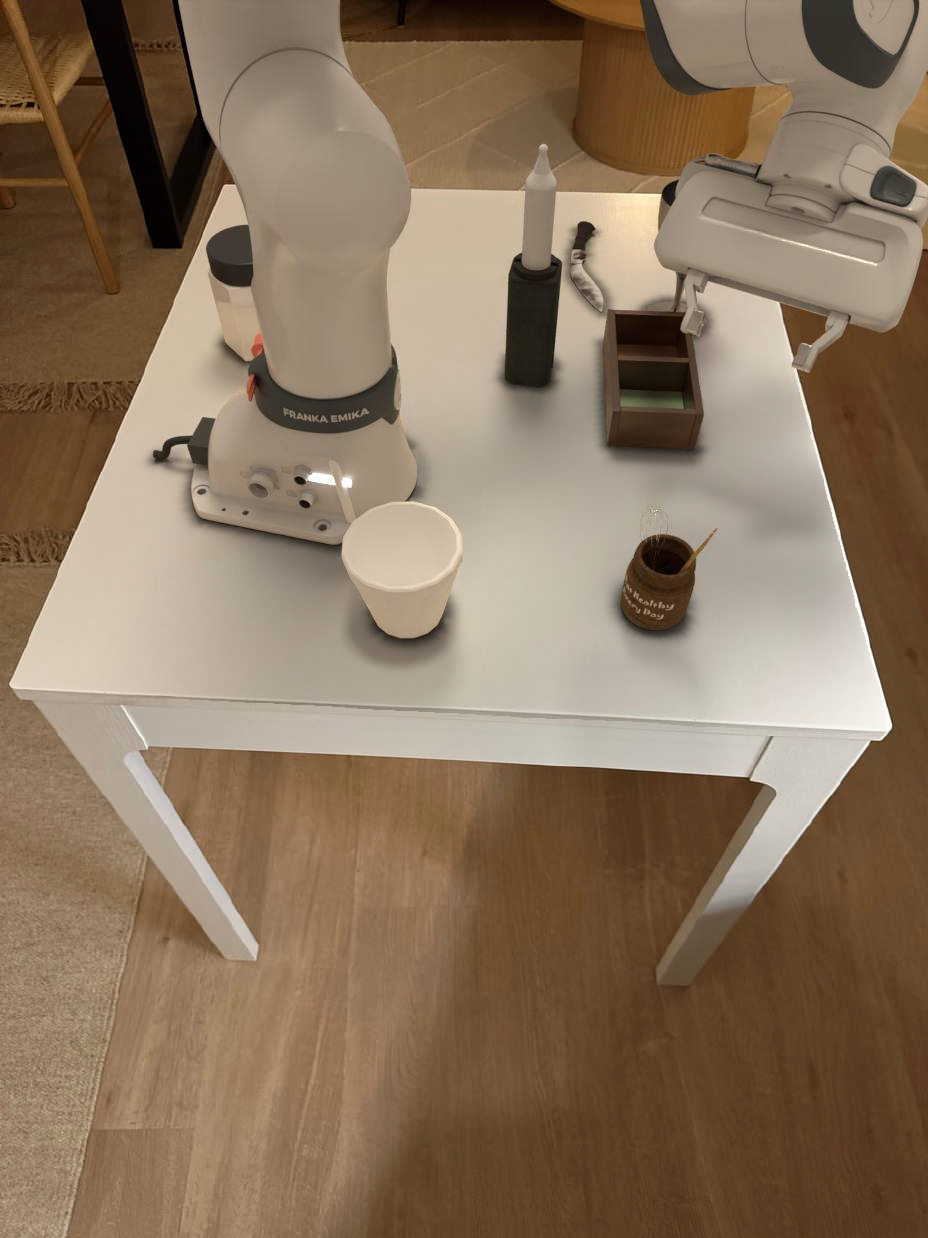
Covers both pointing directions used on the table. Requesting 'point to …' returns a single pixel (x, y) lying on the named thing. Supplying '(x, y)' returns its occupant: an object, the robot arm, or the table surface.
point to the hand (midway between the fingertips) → (743, 350)
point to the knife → (577, 271)
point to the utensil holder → (660, 580)
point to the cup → (403, 565)
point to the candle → (534, 285)
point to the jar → (234, 287)
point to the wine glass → (675, 306)
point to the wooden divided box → (650, 380)
